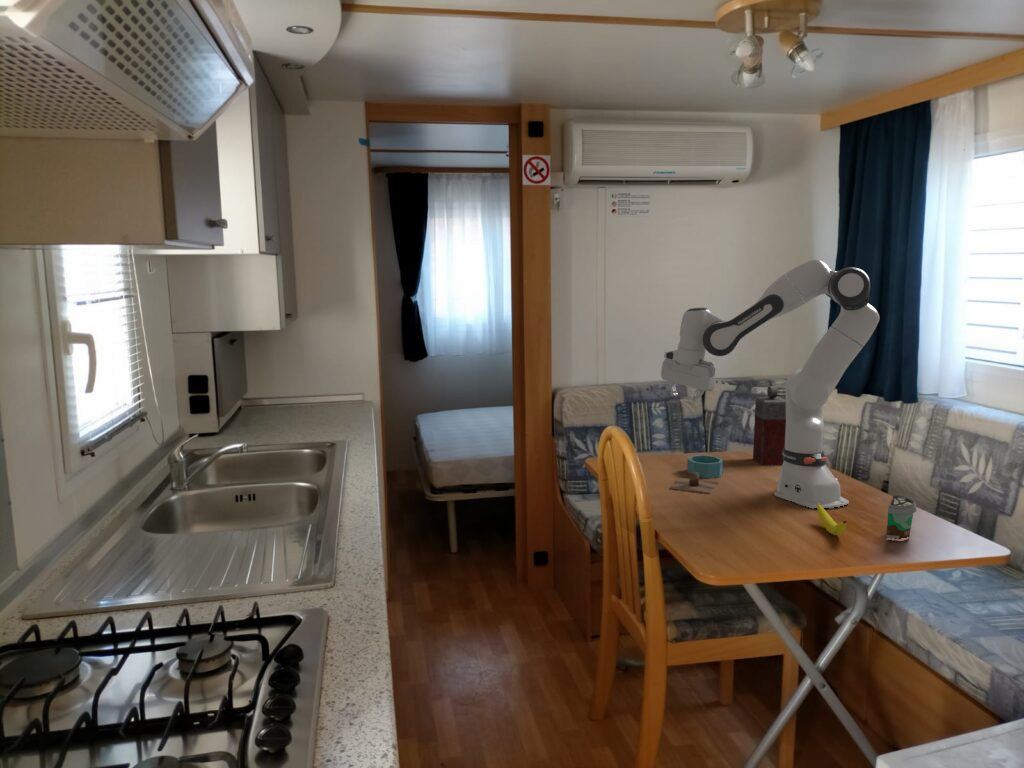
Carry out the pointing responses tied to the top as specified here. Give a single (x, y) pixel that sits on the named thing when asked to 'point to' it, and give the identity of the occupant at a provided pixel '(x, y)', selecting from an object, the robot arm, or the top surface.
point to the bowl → (705, 466)
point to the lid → (694, 484)
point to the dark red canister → (769, 428)
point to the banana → (830, 522)
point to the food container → (900, 516)
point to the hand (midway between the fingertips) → (684, 398)
